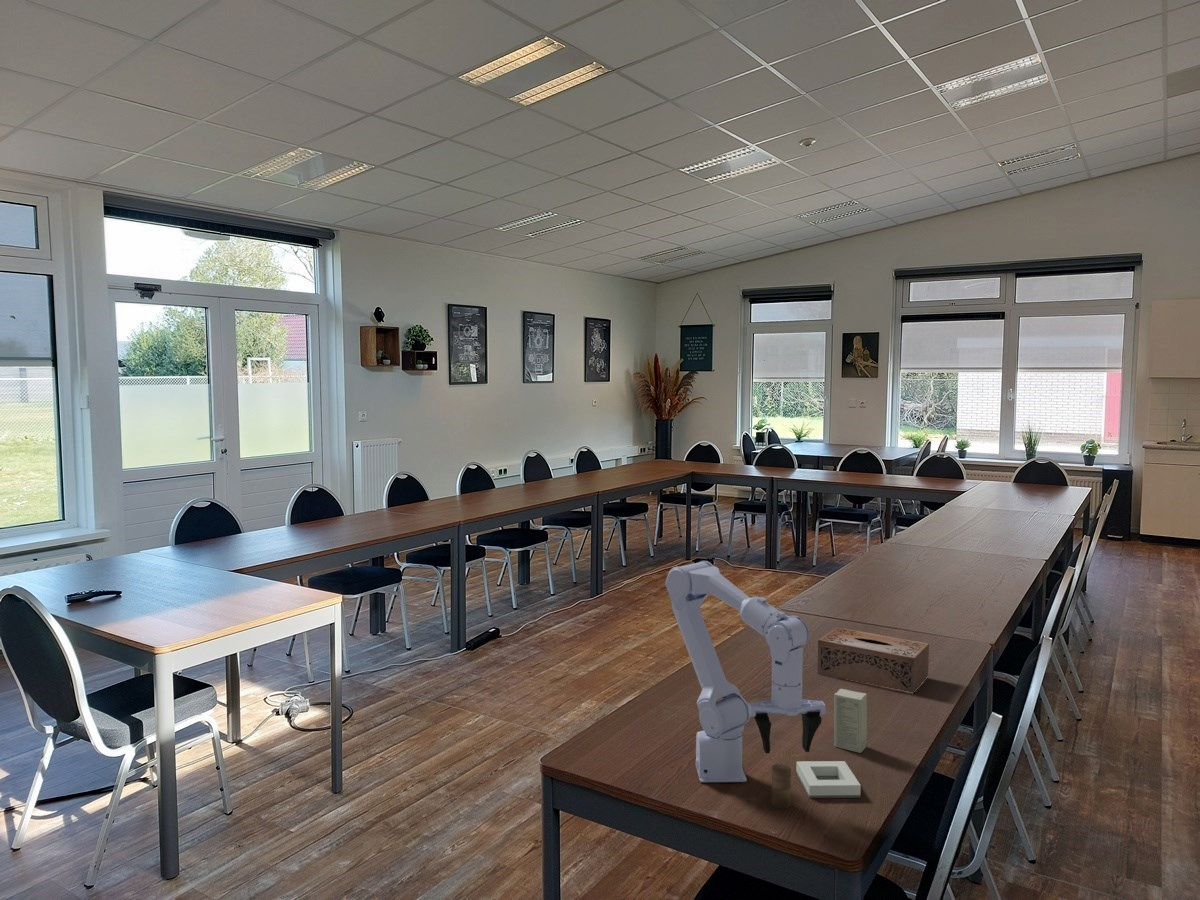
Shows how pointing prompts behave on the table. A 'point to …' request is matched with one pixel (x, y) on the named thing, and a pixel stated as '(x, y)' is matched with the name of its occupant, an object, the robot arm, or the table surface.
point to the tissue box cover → (873, 659)
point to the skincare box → (850, 720)
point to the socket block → (828, 779)
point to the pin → (781, 786)
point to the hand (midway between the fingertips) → (786, 750)
